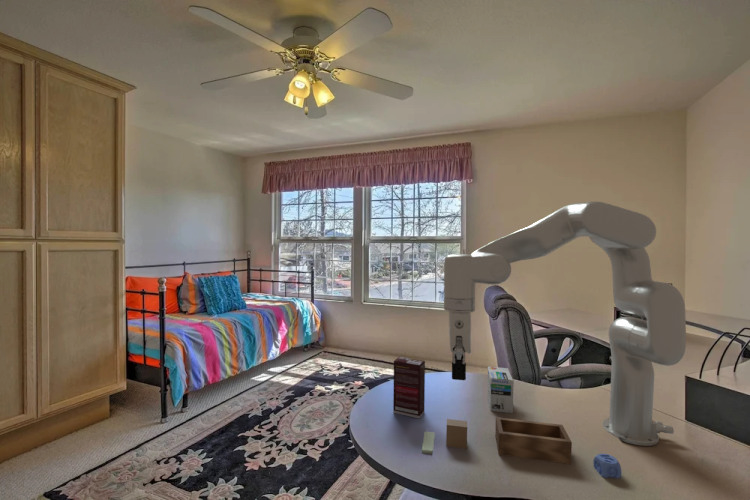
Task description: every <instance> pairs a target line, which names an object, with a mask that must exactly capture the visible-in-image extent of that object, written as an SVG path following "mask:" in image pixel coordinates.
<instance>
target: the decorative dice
mask: <svg viewBox="0 0 750 500" xmlns="http://www.w3.org/2000/svg"><path fill="white" fill-rule="evenodd" d="M592 461H593V462H592V463H593V468H594V469H595V470H596V471H597V473H598V474H599V475H600V476H601V477H603V478H605V479H609V478H614V479H621V477H622V467H621V464H620V462H619V461H618V459H617V458H616V457H615V456H613V455H611V454H607V453H598V454H596V455H595V456H594V458H593V460H592Z"/></svg>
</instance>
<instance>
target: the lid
mask: <svg viewBox="0 0 750 500" xmlns="http://www.w3.org/2000/svg"><path fill="white" fill-rule="evenodd" d="M435 434H436V432H433V431H424V432H423V441H422V447H421V453H423V454H433V453H434V445H435V444H434V443H435V437H436V435H435ZM445 438H446V440H445V441H446V442H445V446H446V447H452V448H457V449H458V448H459V449H465V450H467V448H468V444H467V443H468V421H467V420H460V419H459V420H458V419H450V418H447V419H446V435H445Z"/></svg>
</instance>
